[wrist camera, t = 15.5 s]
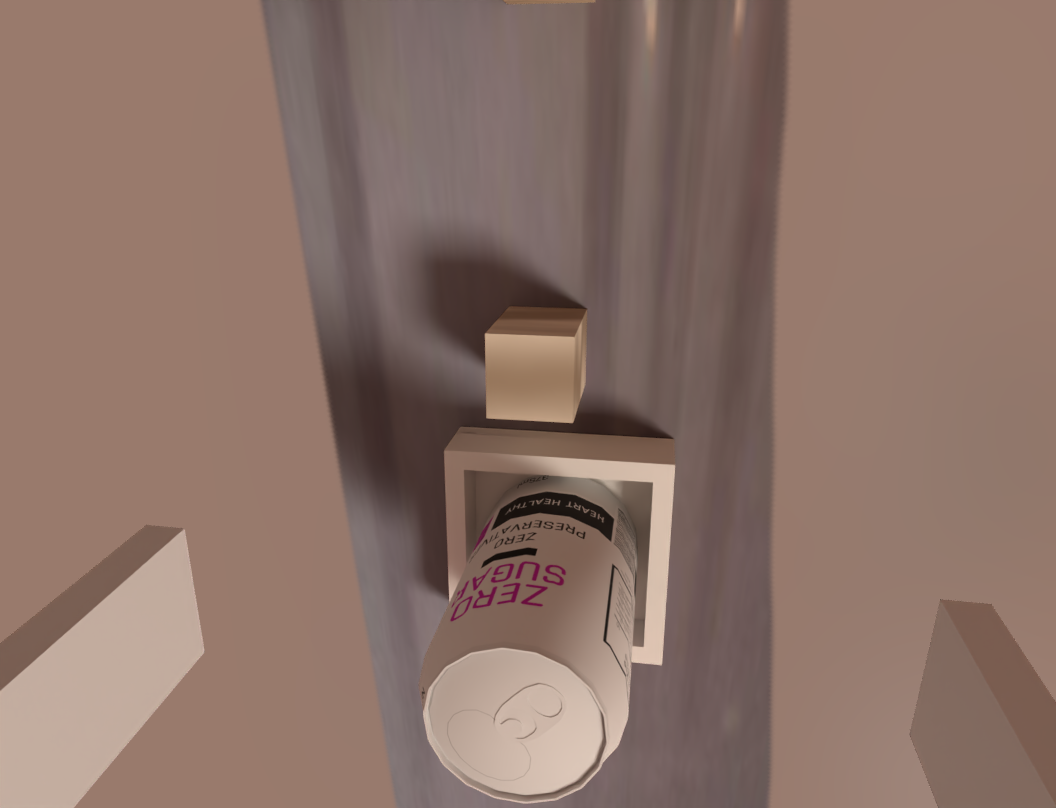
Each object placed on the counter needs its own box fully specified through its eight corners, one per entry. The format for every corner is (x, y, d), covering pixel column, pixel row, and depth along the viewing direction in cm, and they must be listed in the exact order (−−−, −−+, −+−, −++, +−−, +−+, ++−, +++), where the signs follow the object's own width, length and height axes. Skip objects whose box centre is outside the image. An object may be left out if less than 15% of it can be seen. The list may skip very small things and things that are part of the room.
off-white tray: (460, 426, 43) (443, 450, 40) (674, 439, 42) (674, 465, 38) (465, 608, 47) (450, 643, 44) (661, 626, 45) (661, 665, 42)
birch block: (509, 306, 41) (484, 333, 35) (586, 308, 40) (574, 337, 35) (510, 380, 42) (486, 418, 37) (585, 384, 42) (573, 423, 36)
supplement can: (565, 627, 45) (521, 849, 31) (459, 530, 44) (365, 714, 30) (670, 542, 42) (673, 743, 28) (559, 437, 42) (507, 591, 28)
